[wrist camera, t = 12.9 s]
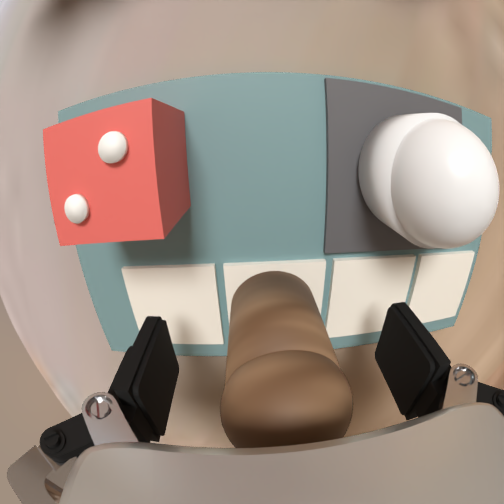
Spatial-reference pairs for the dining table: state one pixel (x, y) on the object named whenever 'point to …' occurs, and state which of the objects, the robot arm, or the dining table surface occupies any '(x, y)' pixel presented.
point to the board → (242, 204)
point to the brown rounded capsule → (281, 368)
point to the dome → (429, 179)
